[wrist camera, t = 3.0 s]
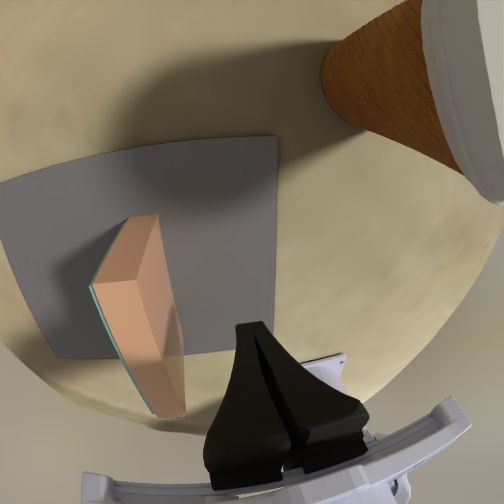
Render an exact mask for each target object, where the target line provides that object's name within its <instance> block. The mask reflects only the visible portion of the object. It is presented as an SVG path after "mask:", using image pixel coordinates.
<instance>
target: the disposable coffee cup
mask: <svg viewBox="0 0 504 504" xmlns="http://www.w3.org/2000/svg"><path fill="white" fill-rule="evenodd" d="M321 79H322V85H323V89H324V93H325V95H326V97H327V100H328V101H329V103H330V104H331V106H332V107H333V109H334V110H335V111H336V112H337V113H338V114H339V115H340V116H341V117H342V118H343V119H344V120H345V121H347V122H349V123H351V124H353V125H355V126H358V127H360V128H363V129H366V130H369V131H371V132H374V133H376V134H379V135H381V136H384V137H386V138H389V139H391V140H394V141H396V142H398V143H401V144H403V145H405V146H407V147H410V148H412V149H414V150H416V151H418V152H420V153H422V154H424V155H427V156H428V157H430V158H432V159H434V160H436V161H438V162H440V163H442V164H444V165H446V166H448V167H449V168H451V169H453V170H455V171H457V172H458V173H460V174H462V175H464V176H465V177H466V179H467V180H468V181H470V182H471V183H472V184H473V185H474V187H475V188H476V189H477V191H478V192H479V194H480V195H481V196H483V197H484V198H485V199H486V200H488V201H489V202H491V203H493V204H496V205H498V206H501V205H504V0H408V1H407V0H406V1H404V2H402V3H401V4H399V5H396V6H395V7H393V8H392V9H390V10H388V11H387V12H385V13H383V14H382V15H380V16H378V17H376V18H375V19H373V20H372V21H370V22H368V23H367V24H366V25H364V26H362V27H361V28H360V29H358V30H357V31H355V32H353V33H352V34H351V35H349V36H348V37H346V38H345V39H343V40H342V41H341V42H339V43H338V44H336V45H335V46H333V47H332V48H331V49H330V50H329V51H328V53H327V54H326V56H325V58H324V61H323V64H322V70H321Z"/></svg>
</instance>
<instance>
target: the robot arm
mask: <svg viewBox="0 0 504 504" xmlns="http://www.w3.org/2000/svg"><path fill="white" fill-rule="evenodd" d="M235 331H236V352H235V359H234V364H233V369H232V373H231V377H230V381H229V384H228V388H227V391H226V393H225V396H224V399H223V402H222V404H221V406H220V409H219V411H218V413H217V415H216V417H215V419H214V421H213V423H212V425H211V427H210V429H209V430H208V432H207V437H206V440H205V444H204V449H203V459H204V465H205V467H206V469H207V470H208V472H209V474H210V480H211V483H199V484H148V483H134V482H123V481H115V480H113V479H112V478H110V477H108V476H105V475H100V474H94V473H89V472H82V483H81V504H406V503H407V502H408V500H409V499H410V497H411V494H410V491H411V487H410V484H409V482H408V479H407V473H408V472H409V471H411V470H413V469H414V468H416V467H418V466H419V465H421V464H422V463H424V462H426V461H427V460H429V459H430V458H432V457H433V456H435V455H436V454H438V453H439V452H440V451H442V450H443V449H445V448H446V447H447V446H449V445H450V444H451V443H453V442H454V441H455V440H456V439H457V438H458V437H460V436H461V435H462V434H463V433H464V432H465V431H467V430H468V429H469V428H470V427H471V426H472V424H471V422H470V421H469V419H468V418H467V416H466V415H465V413H464V412H463V410H462V409H461V408H460V406H459V405H458V403H457V402H456V400H455V399H454V397H453V396H450V397H448V398H447V399H445V400H444V401H442V402H441V403H439V404H438V405H437V406H436V407H434V409H433V410H432V411H431V413H429V414H427V415H426V416H424V417H422V418H421V419H419V420H417V421H415V422H413V423H412V424H410V425H408V426H406V427H404V428H402V429H400V430H398V431H396V432H394V433H392V434H390V435H388V436H387V435H385V434H380V433H376V434H374V435H373V436H374V439H375V441H374V439H373V437H372V435H371V433H370V431H369V429H366V427H365V425H366V424H367V422H368V420H369V414H368V412H367V411H366V409H365V408H364V406H363V404H362V403H361V402H360V401H359V400H358V399H355V398H353V397H351V396H349V394H348V392H347V390H346V388H345V386H344V384H343V382H342V380H341V378H340V375H341V373H342V370H343V367H344V364H345V362H346V359H347V356H346V355H345V354H340V355H336V356H332V357H328V358H324V359H320V360H316V361H312V362H308V363H303V364H299V363H298V362H297V361H296V360H295V359H294V358H293V357H292V356H291V355H290V354H289V353H288V352H287V351H286V350H285V349H284V348H283V347H282V345H281V344H280V343H279V342H278V341H277V340H276V338H275V337H274V336H273V335H272V333H271V332H270V331H269V329H268V328H267V326H266V325H265V323H264V322H263V321H256V322H249V323H242V324H237V325H236V326H235ZM282 466H283V470H284V472H281V469H282ZM280 487H284V488H282V489H279V490H276V491H272V492H268V493H264V494H260V495H255V496H250V497H245V498H240V499H239V497H238V496H232V495H240V494H247V493H253V492H259V491H265V490H270V489H275V488H280Z"/></svg>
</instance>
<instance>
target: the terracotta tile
mask: <svg viewBox="0 0 504 504" xmlns="http://www.w3.org/2000/svg"><path fill="white" fill-rule="evenodd" d="M89 288H90V291H91V294H92V296H93V299H94V301H95V304H96V306H97V309H98V311H99V314H100V316H101V318H102V321H103V323H104V325H105V328H106V330H107V332H108V334H109V336H110V338H111V341H112V343H113V345H114V347H115V349H116V351H117V353H118V355H119V357H120V359H121V361H122V363H123V365H124V367H125V368H126V370H127V372H128V374H129V376H130V378H131V379H132V381H133V383H134V385H135V386H136V388H137V390H138V392H139V393H140V395H141V397H142V398H143V400H144V402H145V403H146V405H147V406H148V408H149V410H150V411H151V413H152V414H156V416H157V417H158V418H171V417H186V404H185V384H184V351H183V335H182V331H181V327H180V323H179V319H178V315H177V311H176V306H175V302H174V298H173V293H172V289H171V284H170V279H169V274H168V269H167V264H166V259H165V253H164V248H163V242H162V236H161V230H160V224H159V217H158V214H152V215H144V216H136V217H129V218H128V220H127V222H124V224H123V225H122V227H121V229H120V230H119V232H118V234H117V235H116V237H115V239H114V240H113V242H112V244H111V246H110V247H109V249H108V251H107V253H106V254H105V256H104V258H103V260H102V262H101V264H100V265H99V267H98V269H97V271H96V273H95V275H94V277H93V279H92V281H91V283H90V285H89Z"/></svg>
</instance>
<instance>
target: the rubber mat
mask: <svg viewBox="0 0 504 504" xmlns="http://www.w3.org/2000/svg"><path fill="white" fill-rule="evenodd" d="M277 191H278V136H247V137H225V138H211V139H198V140H188V141H179V142H170V143H162V144H155V145H148V146H141V147H135V148H129V149H124V150H118V151H113V152H108V153H103V154H98V155H94V156H89V157H85V158H81V159H77V160H73V161H69V162H65V163H61V164H57V165H54V166H50V167H47V168H44V169H40V170H37V171H34V172H31V173H28V174H25V175H22V176H19V177H16V178H13V179H10V180H7V181H5V182H2V183H0V237H1V240H2V244H3V247H4V249H5V252H6V255H7V258H8V261H9V263H10V266H11V269H12V271H13V274H14V276H15V278H16V281H17V283H18V285H19V288H20V290H21V292H22V294H23V296H24V299H25V301H26V303H27V305H28V307H29V309H30V311H31V313H32V315H33V317H34V319H35V321H36V322H37V324H38V326H39V328H40V330H41V331H42V333H43V335H44V337H45V338H46V340H47V342H48V343H49V345H50V347H51V348H52V350H53V352H54V353H55V355H56V356H57V358H72V359H120V357H119V355H118V353H117V351H116V349H115V347H114V345H113V343H112V341H111V338H110V336H109V334H108V332H107V330H106V328H105V325H104V323H103V321H102V318H101V316H100V314H99V311H98V309H97V306H96V304H95V301H94V299H93V296H92V294H91V291H90V288H89V285H90V283H91V281H92V279H93V277H94V275H95V273H96V271H97V269H98V267H99V265H100V264H101V262H102V260H103V258H104V256H105V254H106V253H107V251H108V249H109V247H110V246H111V244H112V242H113V240H114V239H115V237H116V235H117V234H118V232H119V230H120V229H121V227H122V225H123V224H124V222H127V220H128V218H129V217H136V216H144V215H152V214H158V217H159V224H160V230H161V236H162V242H163V248H164V253H165V259H166V264H167V269H168V274H169V279H170V284H171V289H172V293H173V298H174V302H175V306H176V311H177V315H178V319H179V323H180V327H181V331H182V335H183V351H184V355H191V354H201V353H210V352H219V351H226V350H234V349H236V331H235V326H236V325H237V324H242V323H249V322H256V321H263V322H264V323H265V325H266V326H267V328H268V329H269V331H270V332H271V333H272V335H273V328H274V305H275V278H276V244H277Z"/></svg>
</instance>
